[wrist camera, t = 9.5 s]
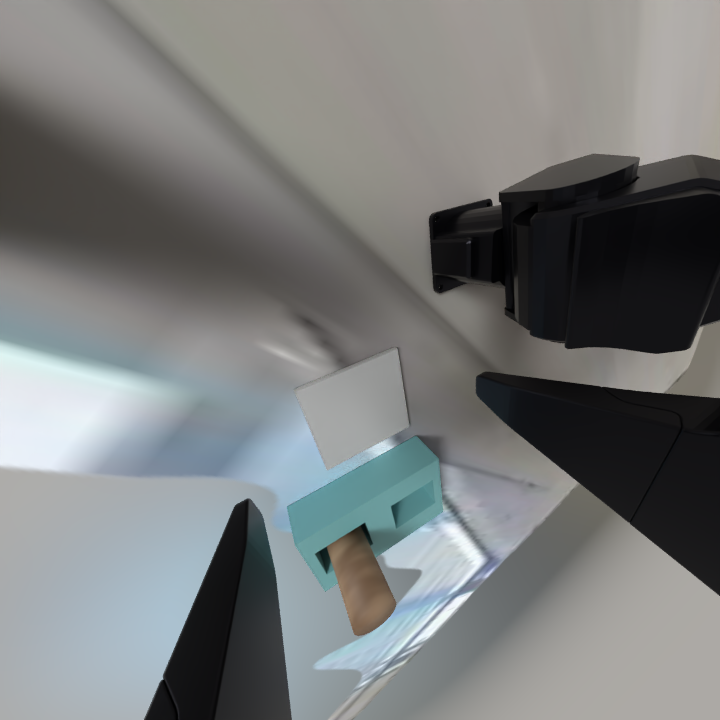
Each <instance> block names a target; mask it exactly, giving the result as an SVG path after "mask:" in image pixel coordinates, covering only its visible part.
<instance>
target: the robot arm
mask: <svg viewBox="0 0 720 720" xmlns="http://www.w3.org/2000/svg"><path fill="white" fill-rule="evenodd" d="M639 160H640V158H639V157H631V156H618V155H604V154H591V155H587V156H584V157H581V158H577V159H574V160H571V161H567V162H564V163H561V164H557V165H554V166H551V167H549V168H546V169H544V170H543V171H541V172H539V173H537V174H535V175H533V176H531V177H529V178H527V179H525V180H523V181H521V182H519V183H517V184H515V185H513V186H511V187H509V188H507V189H505V190H503V191H501V192H499V202H501V205H498V206H492V205H493V204H492V200H491V199H486V200H482V201H478V202H474V203H470V204H466V205H462V206H458V207H454V208H451V209H447V210H443V211H439V212H435V213H432V214H431V216H430V218H429V227H430V242H431V258H432V273H433V288H434V291H435V292H438V293H442V292H444V291H447V290H450V289H452V288H455V287H458V286H460V285H463V284H466V283H473V284H480V285H487V286H493V287H500V288H505V295H506V307H505V315H506V316H508V317H509V318H511V319H513V320H514V321H516V322H517V323H519V324H520V325H521V326H523V327H525V328H526V329H528V330H530V335H532V336H534V337H537V338H540V339H544V340H549V341H552V342H558V343H565V348H567V349H575V348H585V347H609V348H618V349H626V350H633V351H640V352H647V353H654V354H659V353H667V352H675V351H683V350H687V349H689V348H690V347H691V346H692V343H693V341H694V338H695V336H696V334H697V331H698V329H699V327H702V326H705V325H709V324H713V323H716V322H719V321H720V160H717V159H712V158H708V157H703V156H699V155H686V156H681V157H676V158H672V159H668V160H664V161H659V162H655V163H651V164H647V165H642V166H638V165H639ZM486 205H487V206H486ZM435 217H436V219H437V220H436V222H435ZM439 285H440V288H439ZM476 394H477V396H478V397H479V398H480V399H481V400H482V401H483V402H484V403H485V404H486V405H487V406H488V407H489V408H490V409H491V410H492V411H493V412H494V413H495V414H496V415H497V416H498V417H499V418H500V419H501V420H502V421H503V422H505V423H506V424H507V425H508V426H509V427H510V428H511V429H513V430H514V431H515V432H516V433H518V434H519V435H520V436H521V437H523V438H524V439H525V440H526V441H528V442H529V443H530V444H531V445H533V446H534V447H535V448H536V449H538V450H539V451H540V452H541V453H543V454H544V455H545V456H546V457H548V458H549V459H550V460H551V461H552V462H554V463H555V464H556V465H557V466H559V467H560V468H561V469H562V470H564V471H565V472H566V473H567V474H569V475H570V476H571V477H572V478H574V479H575V480H576V481H577V482H579V483H580V484H581V485H583V486H584V487H585V488H586V489H587V490H589V491H590V492H591V493H592V494H594V495H595V496H596V497H597V498H599V499H600V500H601V501H602V502H604V503H605V504H606V505H607V506H609V507H610V508H611V509H613V510H614V511H615V512H616V513H617V514H619V515H620V516H621V517H622V518H624V519H625V520H626V521H627V522H630V524H631V525H632V526H633V527H635V528H636V529H637V530H638V531H640V532H641V533H642V534H643V535H645V536H646V537H647V538H648V539H649V540H651V541H652V542H653V543H654V544H656V545H657V546H658V547H659V548H661V549H662V550H663V551H664V552H666V553H667V554H668V555H669V556H671V557H672V558H673V559H674V560H676V561H677V562H678V563H679V564H681V565H682V566H683V567H684V568H686V569H687V570H688V571H689V572H691V573H692V574H693V575H694V576H696V577H697V578H698V579H699V580H701V581H702V582H703V583H704V584H706V585H707V586H708V587H709V588H710V589H712V590H713V591H714V592H716V593H717V594H718V595H719V596H720V398H710V397H698V396H686V395H674V394H663V393H652V392H642V391H633V390H624V389H616V388H608V387H600V386H593V385H585V384H578V383H570V382H562V381H554V380H547V379H539V378H531V377H524V376H516V375H508V374H501V373H493V372H483V373H481V374H480V375H478V376H477V377H476ZM285 664H286V663H285V654H284V645H283V636H282V627H281V618H280V609H279V600H278V591H277V583H276V574H275V568H274V564H273V559H272V555H271V550H270V546H269V541H268V537H267V532H266V528H265V523H264V519H263V516H262V514H261V512H260V511H259V509H258V508H257V507H256V506H255V504H254V503H253V501H252V500H251V499H246V500H244V501H242V502H240V503H238V504H236V505H235V507H234V509H233V511H232V513H231V516H230V518H229V521H228V523H227V525H226V527H225V530H224V532H223V535H222V537H221V539H220V542H219V544H218V546H217V549H216V552H215V554H214V556H213V559H212V561H211V563H210V565H209V568H208V570H207V572H206V575H205V577H204V579H203V582H202V585H201V587H200V589H199V592H198V594H197V596H196V598H195V601H194V603H193V606H192V608H191V610H190V613H189V615H188V618H187V620H186V622H185V625H184V627H183V629H182V632H181V634H180V636H179V639H178V641H177V643H176V646H175V648H174V651H173V653H172V655H171V658H170V660H169V662H168V665H167V667H166V669H165V672H164V674H163V680H161V682H160V683H159V686H158V688H157V690H156V693H155V695H154V697H153V700H152V702H151V704H150V707H149V710H148V712H147V714H146V716H145V718H144V720H292V718H291V709H290V700H289V690H288V681H287V672H286V665H285Z"/></svg>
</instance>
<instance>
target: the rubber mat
mask: <svg viewBox="0 0 720 720" xmlns="http://www.w3.org/2000/svg"><path fill="white" fill-rule="evenodd" d="M294 392H295V394H296V396H297V399H298V401H299V404H300V406H301V409H302V411H303V413H304V416H305V418H306V421H307V423H308V425H309V428H310V430H311V433H312V435H313V438H314V440H315V442H316V445H317V447H318V450H319V452H320V455H321V457H322V459H323V462H324V464H325V467H326V469H327V470H329V469H331V468H333V467H335V466H337V465H338V464H340V463H342V462H344V461H346V460H348V459H350V458H352V457H353V456H355V455H357V454H359V453H361V452H363V451H365V450H366V449H368V448H370V447H372V446H374V445H376V444H378V443H380V442H381V441H383V440H385V439H387V438H389V437H391V436H393V435H395V434H396V433H398V432H400V431H402V430H404V429H406V428H408V427H409V421H408V414H407V408H406V401H405V395H404V388H403V381H402V375H401V368H400V361H399V355H398V349H397V348H396V347H393V348H391V349H388V350H386V351H384V352H381V353H379V354H376V355H374V356H372V357H369V358H367V359H365V360H362V361H360V362H357V363H355V364H353V365H350V366H348V367H346V368H343V369H341V370H338V371H336V372H334V373H331V374H329V375H326V376H324V377H322V378H319V379H317V380H315V381H312V382H310V383H307V384H305V385H303V386H300V387H298V388H296V389H294Z"/></svg>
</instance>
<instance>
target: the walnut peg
mask: <svg viewBox="0 0 720 720" xmlns="http://www.w3.org/2000/svg"><path fill="white" fill-rule="evenodd" d="M327 549H328V553H329V556H330V559H331V562H332V565H333V568H334V572H335V575H336V578H337V581H338V584H339V588H340V591H341V594H342V597H343V600H344V603H345V607H346V610H347V613H348V616H349V619H350V622H351V626H352V629H353V632H354V634H355V635H357V636H360V635H365V634H367V633H369V632H371V631H373V630H375V629H376V628H378V627H379V626H380V625H382V624H383V623H384V622H385V621H386V620H387V619H388V618H389V617H390V616H391V614H392V613H393V611H394V610H395V607H396V601H395V599H394V597H393V595H392V593H391V590H390V588H389V586H388V584H387V582H386V579H385V577H384V575H383V573H382V571H381V569H380V566H379V565H378V562H377V560H376V558H375V556H374V553H373V551H372V549H371V547H370V545H369V543H368V540H367V538H366V536H365V534H364V532H363V530H362V527H361V525H360V526H358V527H357V528H355V529H354V530H352V531H351V532H349V533H347V534H346V535H344V536H343V537H341V538H339V539H338V540H336V541H335V542H333V543H331V544H330V545H328V546H327Z"/></svg>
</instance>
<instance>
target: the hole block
mask: <svg viewBox="0 0 720 720" xmlns="http://www.w3.org/2000/svg"><path fill="white" fill-rule="evenodd" d="M287 510H288V515H289V519H290V524H291V529H292V534H293V538H294V543H295V546H296V547H297V549H298V551H299V552H300V554H301V555H302V557H303V558H304V560H305V561H306V563H307V565H308V566H309V568H310V569H311V570H312V572H313V574H314V575H315V577H316V578H317V580H318V581H319V583H320V584H321V586H322V587H323V589H324V590H325V592H326V591H327V590H329V589H330V588H332V587H333V586H335V585H336V584H338V581H337V578H336V575H335V572H334V568H333V565H332V562H331V559H330V556H329V553H328V549H327V546H328V545H330V544H331V543H333V542H335V541H336V540H338V539H339V538H341V537H343V536H344V535H346V534H347V533H349V532H351V531H352V530H354V529H355V528H357V527H358V526H360V525H361V527H362V530H363V532H364V534H365V536H366V538H367V540H368V543H369V545H370V547H371V549H372V551H373V553H374V556H375V558H376V557H377V556H379V555H380V554H382V553H383V552H385V551H386V550H388V549H389V548H390V547H392V546H393V545H395V544H396V543H398V542H399V541H401V540H402V539H404V538H405V537H407V536H408V535H410V534H411V533H413V532H414V531H415V530H417V529H418V528H420V527H421V526H423V525H424V524H426V523H427V522H429V521H430V520H432V519H433V518H435V517H436V516H438V515H439V514H440V513H442V512H443V505H442V493H441V480H440V468H439V458H438V457H437V456H436V455H435V454H434V453H433V452H432V451H431V450H430V449H429V448H428V447H427V446H426V445H425V444H424V443H423V442H422V441H421V440H420V439H419V438H418V437H417V436H414V437H413V438H411V439H409V440H407V441H405V442H404V443H402V444H400V445H398V446H396V447H395V448H393V449H391V450H389V451H387V452H386V453H384V454H382V455H380V456H378V457H376V458H375V459H373V460H371V461H369V462H367V463H366V464H364V465H362V466H360V467H358V468H357V469H355V470H353V471H351V472H349V473H347V474H346V475H344V476H342V477H340V478H338V479H337V480H335V481H333V482H331V483H329V484H328V485H326V486H324V487H322V488H320V489H319V490H317V491H315V492H313V493H311V494H309V495H308V496H306V497H304V498H302V499H300V500H299V501H297V502H295V503H293V504H291V505H290V506H288V507H287Z"/></svg>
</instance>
